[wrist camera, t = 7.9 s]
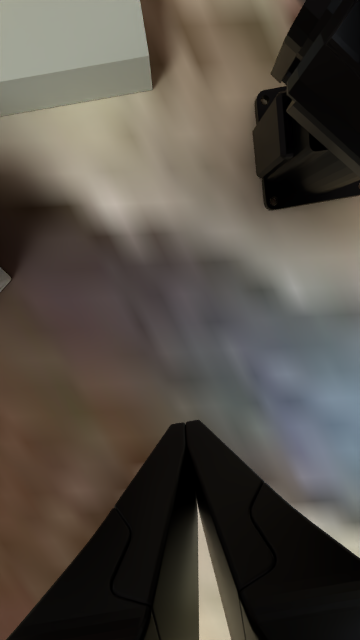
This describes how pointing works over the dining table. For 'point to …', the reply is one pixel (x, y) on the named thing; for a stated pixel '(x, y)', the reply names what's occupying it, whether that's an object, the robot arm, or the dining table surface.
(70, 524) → the dining table surface
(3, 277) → the light bulb box
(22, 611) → the dining table surface
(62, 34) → the board
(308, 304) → the dining table surface
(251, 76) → the dining table surface
